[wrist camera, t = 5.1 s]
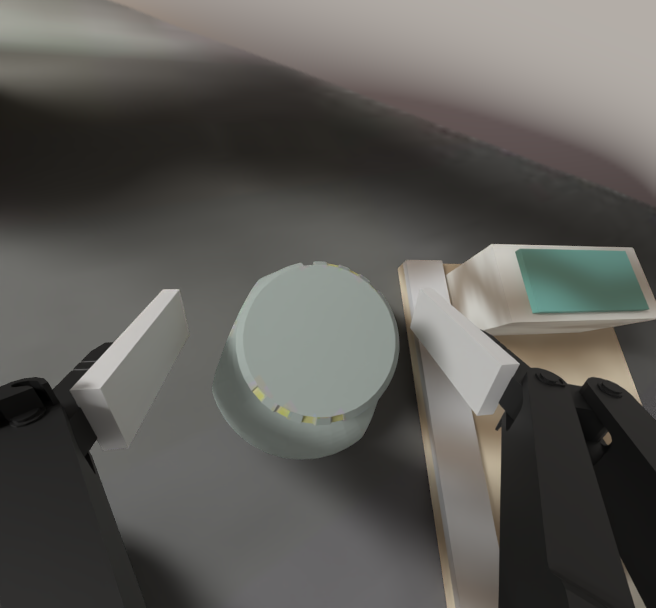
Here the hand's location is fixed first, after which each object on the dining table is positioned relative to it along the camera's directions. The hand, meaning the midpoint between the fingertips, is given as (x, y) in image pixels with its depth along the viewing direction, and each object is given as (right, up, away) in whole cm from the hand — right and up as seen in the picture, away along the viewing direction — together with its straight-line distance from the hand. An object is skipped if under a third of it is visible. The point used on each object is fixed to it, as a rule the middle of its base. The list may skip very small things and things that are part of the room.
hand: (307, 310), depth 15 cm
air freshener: (-1, -4, +4) cm, 5 cm away
